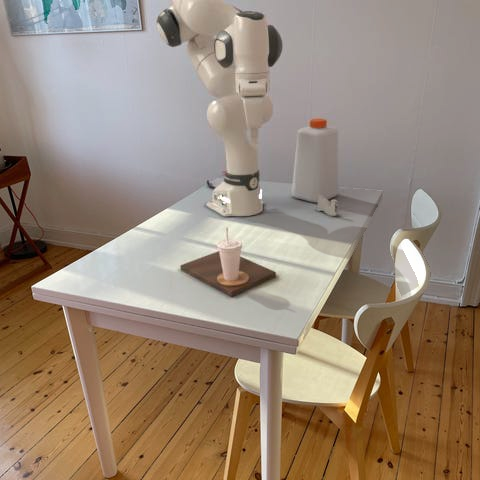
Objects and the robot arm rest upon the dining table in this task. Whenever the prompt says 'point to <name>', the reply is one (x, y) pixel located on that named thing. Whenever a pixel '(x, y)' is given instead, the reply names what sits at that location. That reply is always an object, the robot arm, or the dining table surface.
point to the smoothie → (230, 257)
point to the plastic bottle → (316, 162)
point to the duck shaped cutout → (327, 206)
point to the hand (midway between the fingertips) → (254, 140)
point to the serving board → (212, 274)
